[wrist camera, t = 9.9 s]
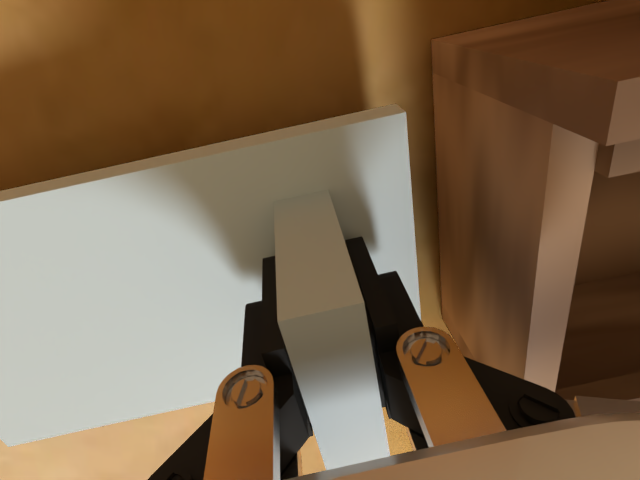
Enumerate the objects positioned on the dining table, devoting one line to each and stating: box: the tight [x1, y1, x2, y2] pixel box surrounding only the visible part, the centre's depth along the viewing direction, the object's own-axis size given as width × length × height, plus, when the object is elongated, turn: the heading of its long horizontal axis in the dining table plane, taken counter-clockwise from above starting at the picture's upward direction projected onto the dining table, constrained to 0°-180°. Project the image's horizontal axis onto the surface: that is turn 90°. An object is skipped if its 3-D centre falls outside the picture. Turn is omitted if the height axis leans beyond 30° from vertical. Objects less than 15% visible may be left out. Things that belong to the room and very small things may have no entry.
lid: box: [0, 104, 421, 470], centre depth 11 cm, size 9×16×6 cm, turn 101°
